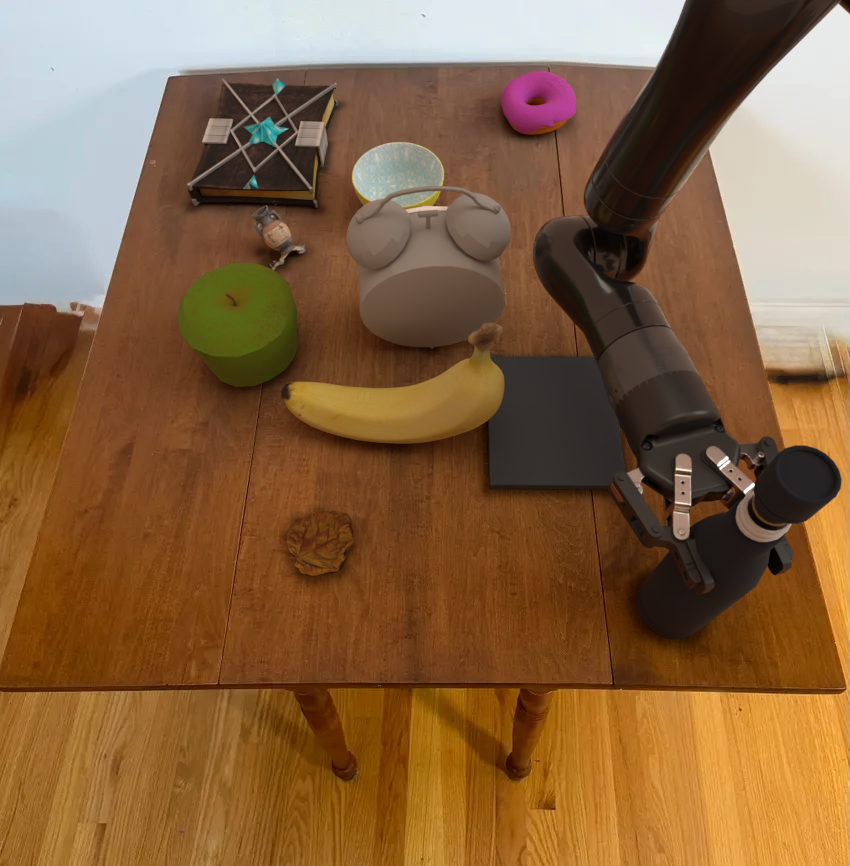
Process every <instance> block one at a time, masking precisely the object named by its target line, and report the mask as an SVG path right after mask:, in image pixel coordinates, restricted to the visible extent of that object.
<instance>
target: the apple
mask: <svg viewBox="0 0 850 866" xmlns="http://www.w3.org/2000/svg"><path fill="white" fill-rule="evenodd" d="M177 323H178V329H179V333H180V335H181V337H182V338H183V339H184V341H185V342H186V343H187V345H188V346H189V347H190V349H191V350H192V351H193V352H194V354H196V356H197V357H198V358H199V359H200V360H201V361H203V362H204V363H205V365H206V366H207V367H208V369H209V370H210V371H211V373H213V374H214V375H215V376H216V378H217V379H218V380H219V381H220V382H222V383H225V384H227V385H230V386H233V387H234V388H244V387H245V388H246V387H256V386H258V385H261V384H264V383H266V382H268V381H270V380H272V379H274V378H275V377H277V376H278V375H280V374H281V373H282V372H283V371H285V370H287V368H288V367H289V365H290V364H291V363H292V361H293V360H294V358H295V357H296V353H297V349H298V345H299V335H298V334H299V333H298V327H297V326H298V308H297V304H296V302H295V299H294V294H293V292H292V289H291V285H290V282H289V281H287V279H285V278H284V277H283V276H282V275H280V273H279V272H278V271H276V269H274V270H273V269H272V268H270V267H267V266H265V265H262V264H260V263H257V262H239V261H234V262H231V263H230V262H229V263H228V264H225V265H222V266H219V267H217V268H214V269H212V270H210V271H209V272H207V273H204V274H203V275H201V276H199V277H197V278H196V280H195V281H194V282H193V283H192V284H191V285H190V286H189V287H188V289H186V291H185V292H184V293H183V294H182V296H181V297H180V302H179V306H178V310H177Z"/></svg>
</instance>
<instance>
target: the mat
mask: <svg viewBox="0 0 850 866" xmlns="http://www.w3.org/2000/svg"><path fill="white" fill-rule="evenodd" d="M490 358H491V361H492V362H493V363H494V364H496V365H497V366H498V367H499V368H500V370H501V371H502V373H503V375H504V382H505V383H504V394H503V398H502V402H501V405H500V407H499V408H498V410H497V412H496V413H495V414H494V415H493V416H492V417H491V418H490V419H489V420H487V437H488V438H487V439H488V441H487V443H488V444H487V445H488V477H489V480H488V481H489V489H495V490H496V489H497V490H498V489H500V490H501V489H504V490H505V489H507V490H509V489H510V490H516V489H517V490H518V489H519V490H608V487H609V485H610V483H611V481H612V479H613V477H614V475H615V473H616V472H618V471H624V472H626V468H625V467H626V466H625V460H624V452H623V451H624V450H623V443H622V434H621V426H620V423H619V421H618V418H617V416H616V414H615V411H614V409H613V408H612V407H611V405H610V403H609V400H608V395H607V393H606V391H605V388H604V384H603V381H602V377H601V373H600V370H599V367H598V365H597V363H596V360H595V358H594V356H490Z"/></svg>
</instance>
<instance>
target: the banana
mask: <svg viewBox="0 0 850 866" xmlns="http://www.w3.org/2000/svg"><path fill="white" fill-rule="evenodd" d="M502 332H503V326H501V325H500V324H499V323H496V322H495V323H489V322H488V323H484V324H483V325H482V327H481V328H479V329H478V330H476V331H474V332H472V333H471V335H470V336H469V337H468V340H467V342H468V343H469V344H470V345H472V346H473V348H474V350H473V353H472V355H471V357H468V358H464V359H463V360H460V361H458V362H457V363H456V364H454V365H452V366H451V367H449V368H448V369H447V370H445V371H444V372H442V373H441V374H439V375H436V376H435V377H433V378H430V379H428V380H425V381H422V382H419V383H416V384H412V385H406V386H399V387H360V386H349V385H339V384H333V383H326V382H318V381H317V382H316V381H290V382H287V383H286V384H284V386H283V387H282V388H281V391H280V396H281V399H282V402H283V403H284V405H285V406H286V408H287V409H288V411H289V412H290V413H291V414H292V415H293V416H295V418H297V419H298V420H300V421H301V422H303V423H305V424H306V425H308V426H310V427H312V428H314V429H317V430H319V431H321V432H324V433H327V434H328V433H329V434H331V435H334V436H338V437H342V438H346V439H351V440H356V441H361V442H362V441H363V442H371V443H379V444H397V445H399V444H404V445H405V444H407V445H408V444H422V443H429V442H430V443H431V442H435V441H440V440H443V439H447V438H451V437H455V436H458V435H461V434H464V433H467V432H470V431H472V430H474V429H476V428H478V427H480V426H482V425H484V424H485V423H486V422H488V420H489V419H490V418H491V417H492V416H493V415H494V414H495V413H496V412H497V410H498V408H499V407H500V405H501V402H502V398H503V394H504V383H505V382H504V375H503V373H502V371H501V370H500V368H499V367H498V366H497V365H496V364H494V363H493V362H492V361H491V358H490V357H491V353H490V352H491V350H492V348H493V347H494V346H496V345H497V344H498V343H499V342H500V336H501V334H502Z"/></svg>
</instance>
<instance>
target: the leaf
mask: <svg viewBox="0 0 850 866" xmlns="http://www.w3.org/2000/svg"><path fill="white" fill-rule="evenodd" d="M353 528H354V527H353V521H352V518H351V516H350V514H349V513H347V512H338V511H336V510H334V509H332V510H331V511H328V510H325V511H324V510H318V511H314V512H313V513H312V514H311V515H308V516H307V517H305V518H302V519H301V520H299V521H298V522H295V523H293V524H292V526H291V527H290V529H289V531H288V533H287V535H285V536H286V538H287V539H286V540H285V542H286V544H287V547H288V551H289V553H290V554H293V555H294V556H295V557H294V556H293V557H290V559H296V561H295V563H294V567H295V568H297V569H298V571H299V573H300V574H302V575H307V576H312V577H314V576H315V577H316V576H318V575H324V574H327V573H335V572H339V571H340V567H341V566H342V564H343V563H344V561H345V560H346V557H347V554H348V551H349V549H350V548H351V547H352V546H353V545H354V544H355V534H354V529H353Z"/></svg>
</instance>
